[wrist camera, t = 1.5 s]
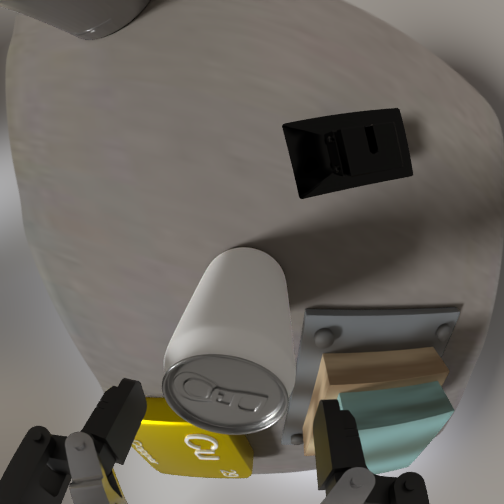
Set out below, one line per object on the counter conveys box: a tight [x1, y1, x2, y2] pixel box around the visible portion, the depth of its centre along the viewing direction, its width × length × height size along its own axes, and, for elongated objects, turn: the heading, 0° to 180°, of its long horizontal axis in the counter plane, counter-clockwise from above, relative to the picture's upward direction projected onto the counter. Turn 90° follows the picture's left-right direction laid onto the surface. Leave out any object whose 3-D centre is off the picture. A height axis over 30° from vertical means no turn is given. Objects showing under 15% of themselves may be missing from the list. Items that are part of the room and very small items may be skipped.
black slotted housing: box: [282, 108, 413, 199], centre depth 16 cm, size 12×7×5 cm, turn 105°
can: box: [162, 247, 296, 435], centre depth 16 cm, size 6×6×12 cm
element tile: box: [132, 397, 254, 478], centre depth 28 cm, size 15×15×5 cm
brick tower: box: [281, 307, 460, 474], centre depth 21 cm, size 20×16×9 cm
